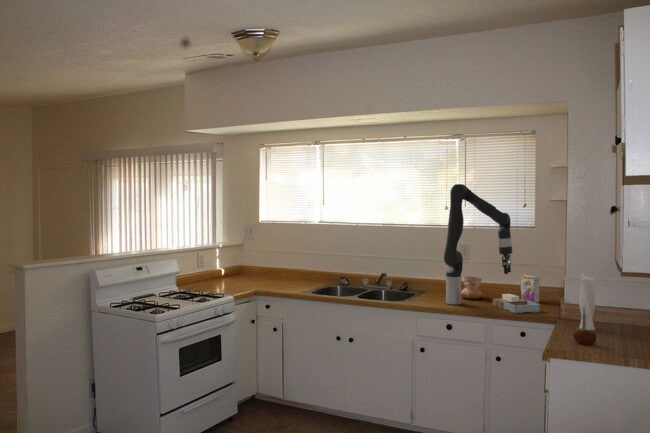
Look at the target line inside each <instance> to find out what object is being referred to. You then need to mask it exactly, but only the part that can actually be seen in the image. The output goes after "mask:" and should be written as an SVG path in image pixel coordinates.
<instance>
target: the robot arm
mask: <svg viewBox="0 0 650 433" xmlns="http://www.w3.org/2000/svg"><path fill="white" fill-rule="evenodd" d="M449 193H450V195H449V198H450V202H449V203H450V204H449V205H450V206H449V214H448V221H447V223H448V224H447V234H446V236H447V237H446V244H445V249H444V253H443V254H444V255H443V261H444V263H445V265H446V266H448V269H447V270H446V272H445V293H446V294H445V303H446V304H449V305H461V304H462V296H461V291H462V273H463V260H464V259H463V254H462V253H461V252H460V251H459V250H457V249H458V243H459V240H460V239H461V237H462V234H463V232H464V222H465V220H464V215H463V201H466V202H467V203H469V204H471V205H472V206H474V208H476V209H477V210H478V211H479V212H481V213H482V214H484V215H485V216H487V217H489V218H490V219H491V220H492V221H494V222H495V223H497V224H498V226H499V227H498V230H497V234H498V235H497V236H498V237H497V238H498V251H499V252H498V253H499V255H502V257H501V263H502V266H501V267H503V273H504V274H505V275H508V274H509V273H511V272H512V269H511V266H512V258H511V255H512V254H513V243H512V237H511V236H512V235H511V216H510V215H509V214H508V213H507V212H503V211H501V210H499V209H497V207H496V206H495V205H493V204H492V203H490V202H489V201H487V200H485V199H483V198H481V197H480V196H478V195H477V194H476V193H474V192H473V191H472V190H471V189H470V188H468V186H466V185H465V184H464V183H455V184H454V185H453V186H451V188H450V192H449Z"/></svg>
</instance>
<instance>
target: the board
mask: <svg viewBox="0 0 650 433" xmlns="http://www.w3.org/2000/svg"><path fill="white" fill-rule="evenodd" d="M504 302H507V303H510V304H513V305H527V301H525V300H522V299H521V298H519V302H510V301H507V300H504V299H502V297H501V298H499V297H498V298H492V306H494V307H496V306H497V308H500V309H502V308H503V309H502V310H505V309H504Z"/></svg>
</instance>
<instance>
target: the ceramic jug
mask: <svg viewBox="0 0 650 433" xmlns="http://www.w3.org/2000/svg"><path fill="white" fill-rule="evenodd" d="M462 282H463V284H464V288H463V289H461V298H464V299H467V300H478V299H481V298H482V297H483V296H484V293H483V291H482V290H480V289H479V287H480V285H481V282H482V277H481V276H477V275H476V276H475V275H474V276H472V275H469V276H468V275H465V276H464V275H463V276H462Z"/></svg>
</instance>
